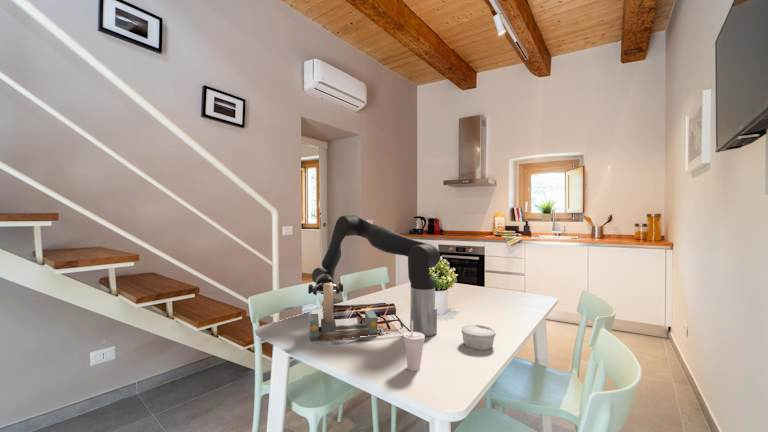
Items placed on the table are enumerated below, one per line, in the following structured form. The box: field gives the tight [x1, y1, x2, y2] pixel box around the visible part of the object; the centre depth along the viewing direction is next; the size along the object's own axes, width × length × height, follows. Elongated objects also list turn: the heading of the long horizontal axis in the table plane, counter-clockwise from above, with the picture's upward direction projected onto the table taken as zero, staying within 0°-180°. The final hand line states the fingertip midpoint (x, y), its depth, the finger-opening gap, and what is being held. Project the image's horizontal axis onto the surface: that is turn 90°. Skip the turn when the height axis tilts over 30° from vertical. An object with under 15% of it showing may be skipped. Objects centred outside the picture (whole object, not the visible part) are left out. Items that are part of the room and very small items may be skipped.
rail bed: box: [312, 323, 378, 342], centre depth 128 cm, size 24×9×2 cm, turn 103°
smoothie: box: [402, 320, 426, 372], centre depth 101 cm, size 6×6×14 cm
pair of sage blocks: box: [309, 310, 378, 342], centre depth 127 cm, size 24×9×7 cm, turn 103°
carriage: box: [320, 282, 337, 332], centre depth 126 cm, size 5×7×16 cm
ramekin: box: [461, 324, 496, 351], centre depth 119 cm, size 11×11×5 cm
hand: (326, 292), depth 137 cm, fingers open, 8 cm apart
